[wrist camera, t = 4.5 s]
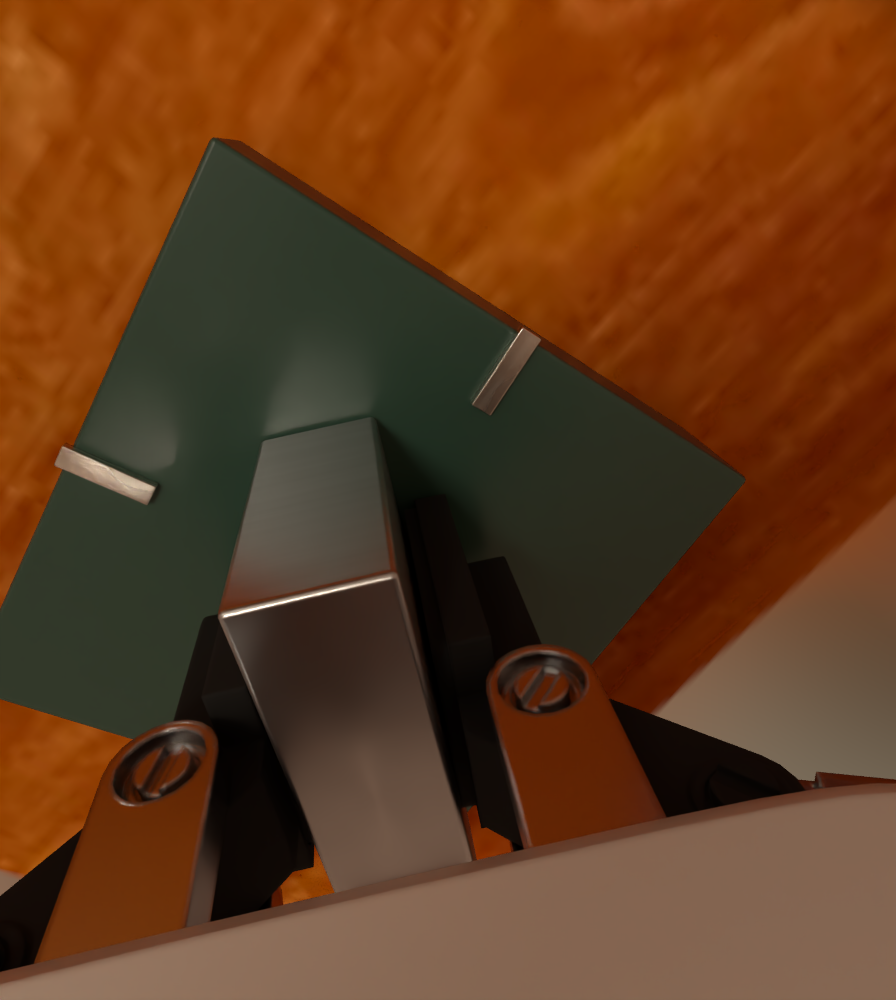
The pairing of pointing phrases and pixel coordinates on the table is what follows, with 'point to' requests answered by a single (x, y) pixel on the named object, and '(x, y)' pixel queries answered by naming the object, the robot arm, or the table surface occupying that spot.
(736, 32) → the table surface
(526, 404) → the panel
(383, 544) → the tap handle
